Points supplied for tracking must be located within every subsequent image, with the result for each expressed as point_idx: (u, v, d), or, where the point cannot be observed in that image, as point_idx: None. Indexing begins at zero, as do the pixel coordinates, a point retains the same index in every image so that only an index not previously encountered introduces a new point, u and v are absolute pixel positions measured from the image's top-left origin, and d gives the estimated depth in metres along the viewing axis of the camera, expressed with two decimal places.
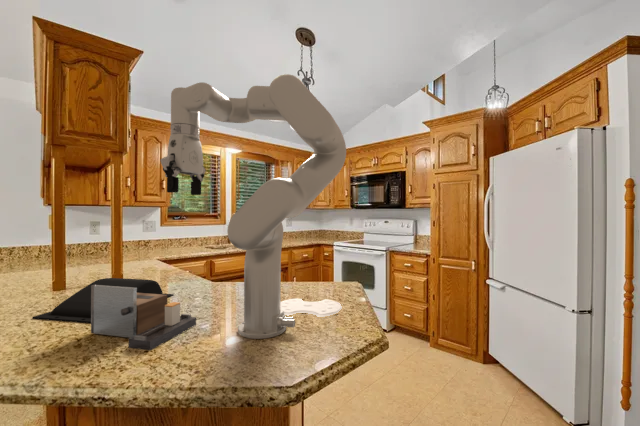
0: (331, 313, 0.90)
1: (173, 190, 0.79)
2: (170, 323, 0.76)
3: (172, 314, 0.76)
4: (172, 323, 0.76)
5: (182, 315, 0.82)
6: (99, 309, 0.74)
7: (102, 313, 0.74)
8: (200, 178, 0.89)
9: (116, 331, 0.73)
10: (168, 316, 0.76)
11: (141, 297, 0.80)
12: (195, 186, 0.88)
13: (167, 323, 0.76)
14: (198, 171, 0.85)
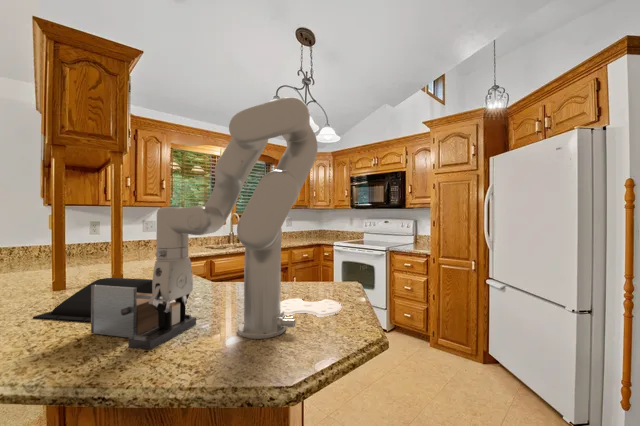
0: (331, 313, 0.90)
1: (165, 325, 0.74)
2: None
3: (172, 314, 0.76)
4: (172, 323, 0.76)
5: None
6: (99, 309, 0.74)
7: (102, 313, 0.74)
8: (185, 300, 0.80)
9: (116, 331, 0.73)
10: None
11: (141, 297, 0.80)
12: None
13: None
14: (187, 292, 0.79)
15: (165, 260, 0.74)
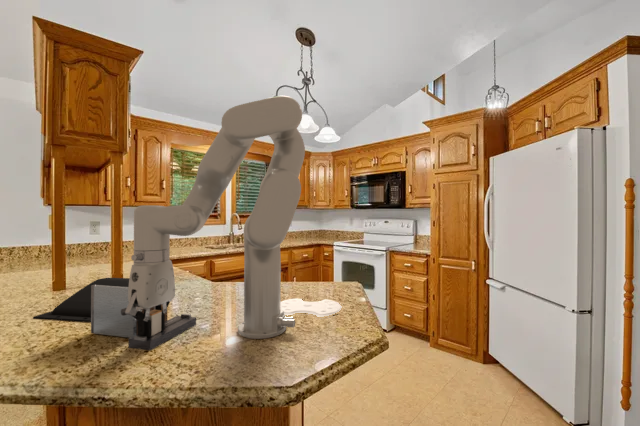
0: (331, 313, 0.90)
1: (145, 335, 0.68)
2: None
3: (152, 323, 0.69)
4: (152, 333, 0.69)
5: (182, 315, 0.82)
6: (99, 309, 0.74)
7: (102, 313, 0.74)
8: (164, 309, 0.73)
9: (116, 331, 0.73)
10: None
11: None
12: None
13: None
14: (168, 299, 0.72)
15: (142, 264, 0.67)
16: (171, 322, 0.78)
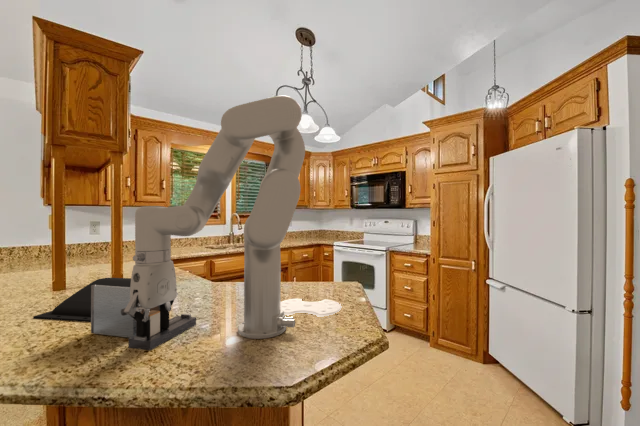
0: (331, 313, 0.90)
1: (144, 335, 0.68)
2: None
3: (151, 324, 0.69)
4: (150, 334, 0.69)
5: (182, 315, 0.82)
6: (99, 309, 0.74)
7: (102, 313, 0.74)
8: (168, 307, 0.74)
9: (116, 331, 0.73)
10: None
11: None
12: (162, 318, 0.74)
13: None
14: (169, 299, 0.73)
15: (144, 264, 0.67)
16: (171, 322, 0.78)
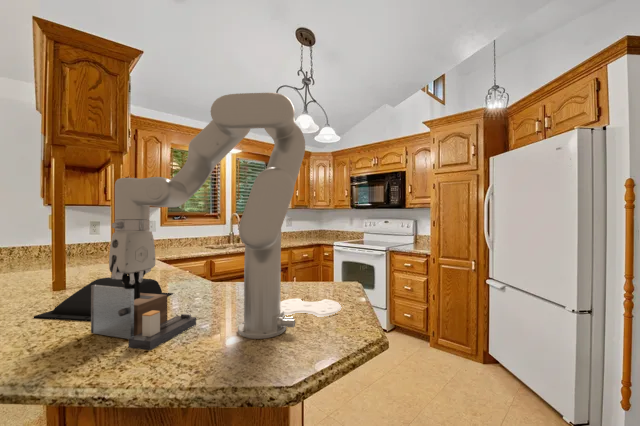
0: (331, 313, 0.90)
1: None
2: (148, 334, 0.69)
3: (151, 324, 0.69)
4: (150, 334, 0.69)
5: (182, 315, 0.82)
6: (98, 309, 0.74)
7: (101, 313, 0.74)
8: (140, 277, 0.76)
9: (114, 332, 0.72)
10: (146, 326, 0.69)
11: (141, 297, 0.80)
12: None
13: (145, 334, 0.69)
14: (148, 267, 0.77)
15: (122, 232, 0.71)
16: (171, 322, 0.78)
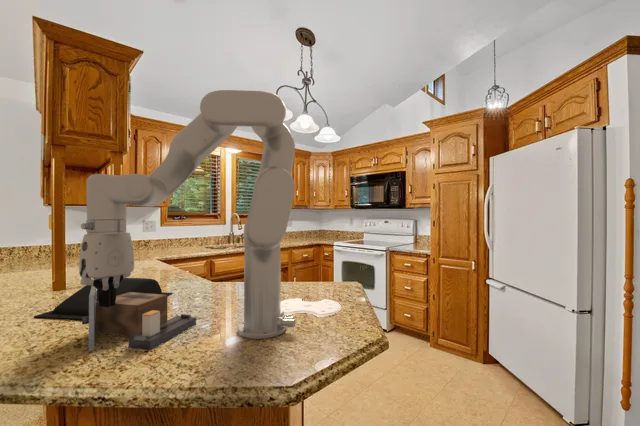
0: (330, 313, 0.90)
1: (105, 304, 0.68)
2: (148, 334, 0.69)
3: (151, 324, 0.69)
4: (150, 334, 0.69)
5: (182, 315, 0.82)
6: None
7: None
8: (116, 283, 0.70)
9: None
10: (146, 326, 0.69)
11: (141, 297, 0.80)
12: None
13: (145, 334, 0.69)
14: (124, 271, 0.70)
15: (93, 233, 0.65)
16: (171, 322, 0.78)
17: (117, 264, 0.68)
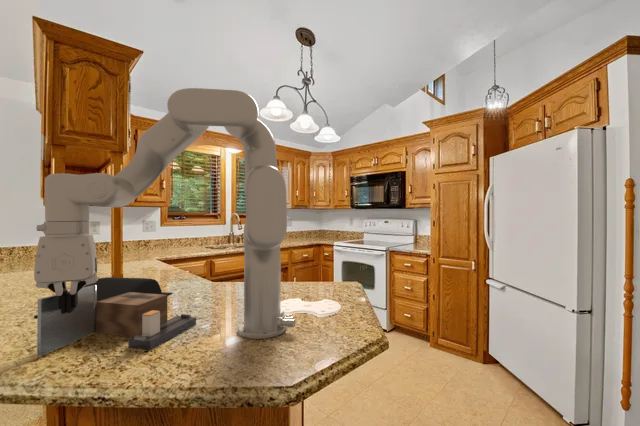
0: (330, 313, 0.90)
1: None
2: (148, 334, 0.69)
3: (151, 324, 0.69)
4: (150, 334, 0.69)
5: (182, 315, 0.82)
6: None
7: None
8: (72, 289, 0.65)
9: None
10: (146, 326, 0.69)
11: (141, 297, 0.80)
12: None
13: (145, 334, 0.69)
14: (76, 278, 0.64)
15: (45, 235, 0.63)
16: (171, 322, 0.78)
17: (66, 269, 0.64)
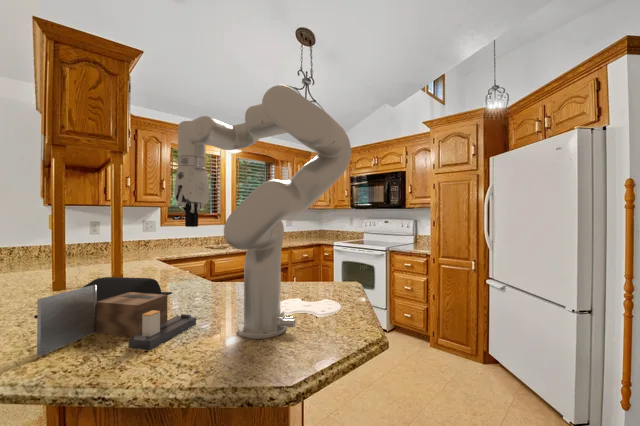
0: (330, 313, 0.90)
1: (191, 225, 0.86)
2: (148, 334, 0.69)
3: (151, 324, 0.69)
4: (150, 334, 0.69)
5: (182, 315, 0.82)
6: None
7: None
8: (198, 209, 0.88)
9: None
10: (146, 326, 0.69)
11: (141, 297, 0.80)
12: None
13: (145, 334, 0.69)
14: (204, 200, 0.88)
15: (186, 166, 0.83)
16: (171, 322, 0.78)
17: (201, 193, 0.87)
